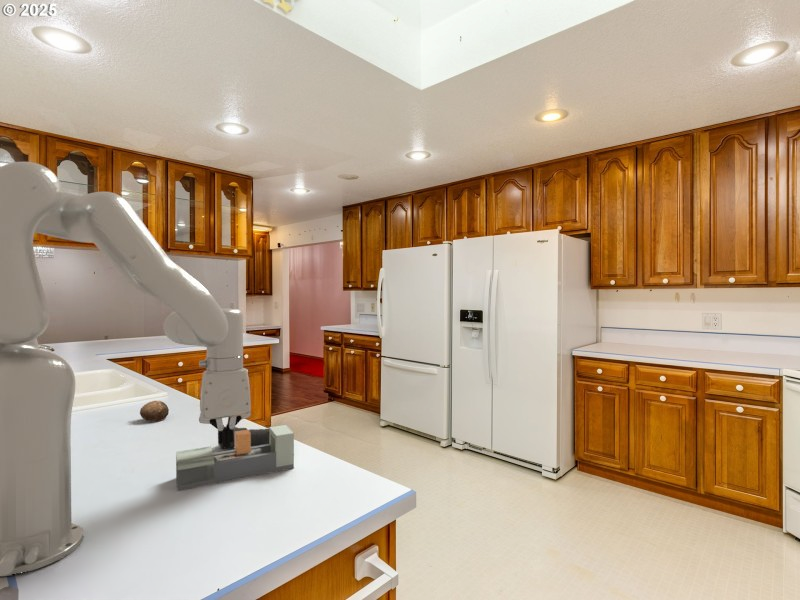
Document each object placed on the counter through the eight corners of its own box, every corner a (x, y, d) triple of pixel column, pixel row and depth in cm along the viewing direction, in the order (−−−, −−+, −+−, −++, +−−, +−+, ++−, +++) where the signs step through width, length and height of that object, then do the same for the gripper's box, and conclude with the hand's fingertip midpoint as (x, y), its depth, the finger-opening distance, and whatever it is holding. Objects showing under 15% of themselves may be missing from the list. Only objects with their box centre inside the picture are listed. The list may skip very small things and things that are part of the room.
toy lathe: (177, 490, 89) (177, 451, 89) (176, 477, 95) (176, 440, 95) (293, 468, 101) (293, 433, 100) (286, 457, 107) (286, 424, 107)
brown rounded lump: (141, 407, 140) (147, 393, 138) (167, 413, 143) (173, 400, 141) (133, 425, 133) (139, 411, 131) (160, 432, 137) (167, 418, 134)
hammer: (194, 477, 92) (194, 441, 92) (193, 471, 95) (193, 437, 95) (262, 464, 99) (262, 431, 99) (259, 459, 102) (259, 427, 102)
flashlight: (283, 444, 117) (283, 424, 117) (278, 451, 112) (278, 430, 112) (225, 443, 117) (225, 424, 117) (217, 451, 111) (217, 430, 111)
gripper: (188, 369, 89) (189, 458, 90) (263, 364, 97) (263, 445, 97) (186, 364, 96) (187, 446, 96) (256, 359, 103) (256, 435, 104)
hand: (225, 446), depth 97 cm, fingers closed
